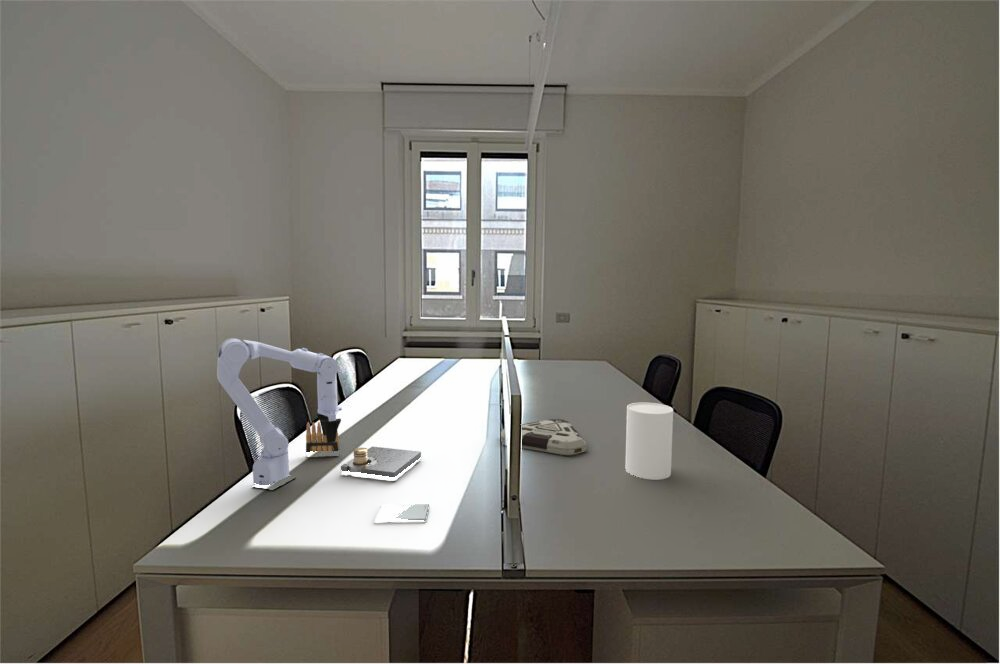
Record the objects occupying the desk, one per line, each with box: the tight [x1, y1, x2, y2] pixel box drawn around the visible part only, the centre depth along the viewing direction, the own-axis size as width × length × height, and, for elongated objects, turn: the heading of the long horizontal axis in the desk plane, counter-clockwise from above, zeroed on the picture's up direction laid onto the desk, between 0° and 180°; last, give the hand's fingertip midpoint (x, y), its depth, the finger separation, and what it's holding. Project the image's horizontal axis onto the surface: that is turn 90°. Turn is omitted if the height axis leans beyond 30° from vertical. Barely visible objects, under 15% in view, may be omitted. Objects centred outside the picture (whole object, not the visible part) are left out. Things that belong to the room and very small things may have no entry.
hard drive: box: [396, 503, 430, 521], centre depth 123 cm, size 2×8×12 cm
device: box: [500, 418, 587, 457], centre depth 181 cm, size 33×27×5 cm
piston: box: [352, 447, 368, 466], centre depth 150 cm, size 4×4×7 cm
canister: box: [624, 401, 674, 481], centre depth 150 cm, size 14×14×20 cm
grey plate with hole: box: [340, 446, 422, 477], centre depth 154 cm, size 18×18×3 cm
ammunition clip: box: [305, 421, 340, 453], centre depth 163 cm, size 11×2×12 cm, turn 95°
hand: (329, 438), depth 151 cm, fingers open, 7 cm apart
